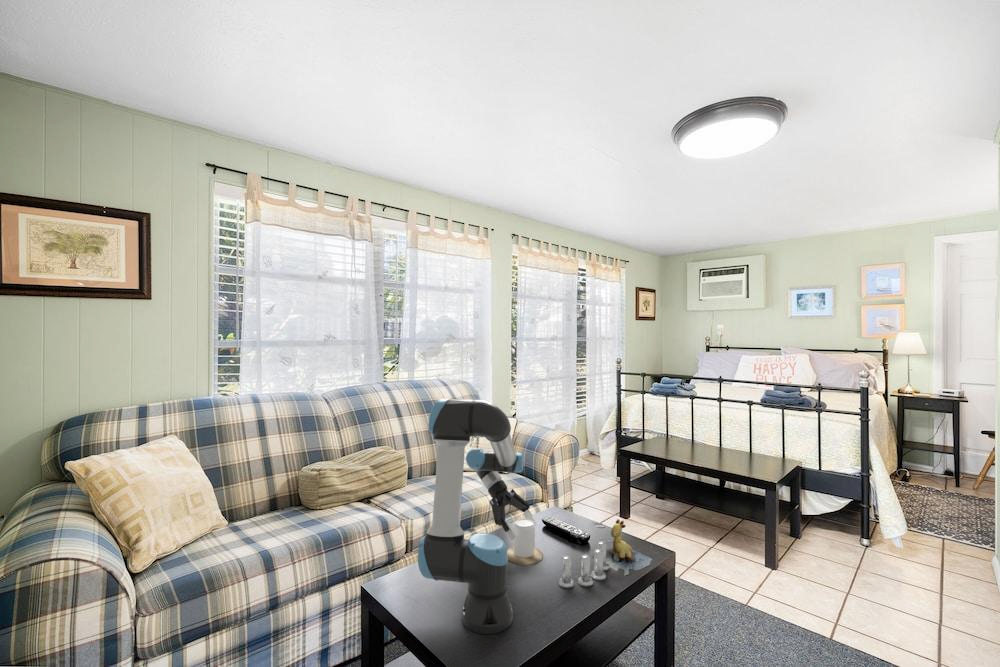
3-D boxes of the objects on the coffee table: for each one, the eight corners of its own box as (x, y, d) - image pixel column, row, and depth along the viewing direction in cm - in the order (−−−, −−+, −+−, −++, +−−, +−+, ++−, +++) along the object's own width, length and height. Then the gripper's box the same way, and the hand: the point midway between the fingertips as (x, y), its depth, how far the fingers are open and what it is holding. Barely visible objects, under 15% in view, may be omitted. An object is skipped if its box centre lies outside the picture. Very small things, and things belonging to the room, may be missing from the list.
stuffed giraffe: (591, 557, 171) (594, 515, 170) (623, 546, 181) (625, 507, 180) (624, 578, 157) (627, 533, 157) (657, 565, 167) (659, 523, 167)
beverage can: (535, 559, 167) (535, 527, 167) (513, 558, 168) (513, 526, 168) (534, 548, 175) (534, 518, 175) (513, 548, 176) (513, 517, 176)
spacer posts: (587, 597, 144) (587, 569, 144) (556, 584, 151) (556, 558, 151) (615, 568, 162) (615, 543, 162) (587, 558, 169) (587, 534, 169)
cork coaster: (529, 568, 162) (529, 567, 162) (498, 557, 170) (498, 555, 170) (549, 554, 173) (549, 552, 173) (519, 543, 181) (519, 542, 181)
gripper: (508, 482, 193) (536, 526, 183) (469, 498, 173) (499, 548, 164) (518, 472, 189) (547, 516, 180) (479, 487, 170) (510, 538, 161)
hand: (524, 532), depth 172 cm, fingers open, 13 cm apart
